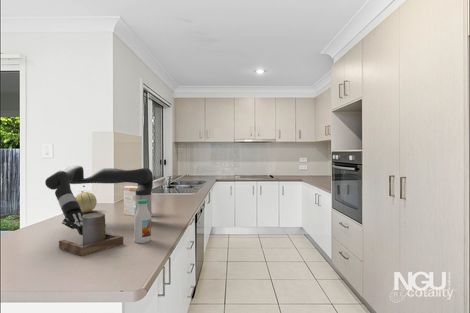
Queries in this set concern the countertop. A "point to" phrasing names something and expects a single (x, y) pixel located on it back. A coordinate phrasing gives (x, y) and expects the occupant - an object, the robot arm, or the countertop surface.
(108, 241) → the display frame
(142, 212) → the milk bottle
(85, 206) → the cantaloupe
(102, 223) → the pillar candle
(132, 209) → the coffeecake box
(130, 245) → the countertop surface
